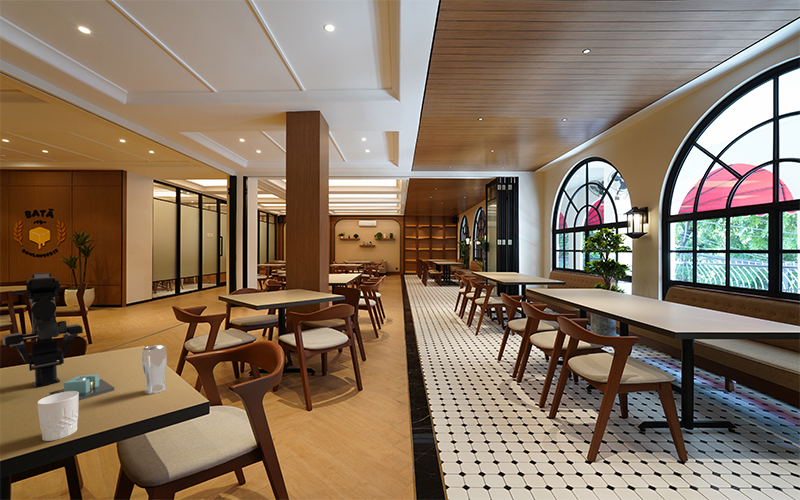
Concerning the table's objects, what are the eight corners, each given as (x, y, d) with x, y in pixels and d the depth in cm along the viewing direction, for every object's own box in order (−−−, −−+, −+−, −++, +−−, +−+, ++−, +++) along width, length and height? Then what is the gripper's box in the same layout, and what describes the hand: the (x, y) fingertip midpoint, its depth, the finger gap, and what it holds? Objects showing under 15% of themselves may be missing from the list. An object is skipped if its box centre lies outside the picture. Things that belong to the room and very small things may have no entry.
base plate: (49, 395, 118) (48, 381, 118) (101, 381, 130) (101, 368, 130) (59, 405, 110) (58, 390, 110) (114, 390, 122) (113, 375, 121)
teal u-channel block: (64, 394, 116) (63, 382, 116) (78, 387, 123) (78, 375, 123) (86, 392, 117) (85, 381, 117) (99, 385, 124) (98, 374, 124)
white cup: (87, 429, 95) (85, 392, 95) (50, 444, 88) (48, 405, 88) (68, 424, 98) (67, 389, 98) (31, 440, 91) (30, 401, 90)
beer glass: (172, 386, 124) (171, 344, 123) (157, 394, 117) (155, 350, 116) (154, 386, 124) (152, 344, 124) (137, 394, 117) (136, 350, 117)
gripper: (6, 321, 107) (9, 372, 108) (86, 311, 123) (88, 355, 123) (1, 318, 114) (3, 365, 114) (77, 308, 129) (79, 350, 129)
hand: (45, 359), depth 120 cm, fingers open, 9 cm apart
